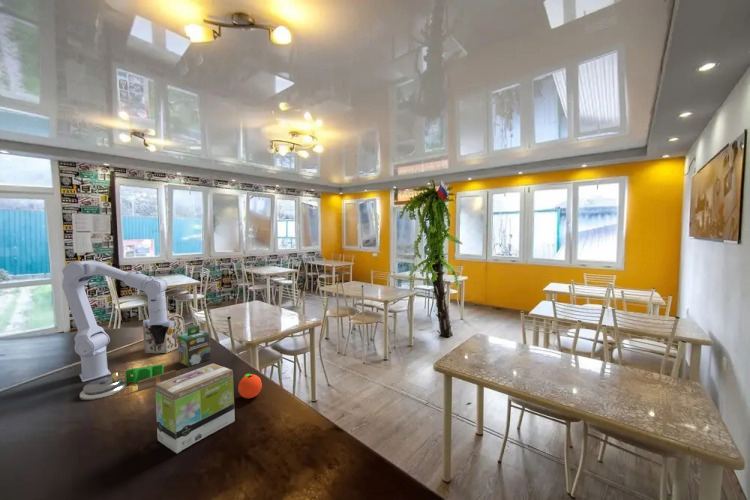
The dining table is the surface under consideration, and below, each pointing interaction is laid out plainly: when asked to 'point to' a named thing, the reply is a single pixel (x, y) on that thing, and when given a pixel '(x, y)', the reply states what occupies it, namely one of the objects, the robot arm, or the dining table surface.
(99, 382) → the index disc
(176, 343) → the decorative jar
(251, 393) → the clementine
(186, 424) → the tea box
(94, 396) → the base plate
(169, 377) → the bar
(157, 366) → the pipe clamp
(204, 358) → the chalk box
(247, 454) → the dining table surface
